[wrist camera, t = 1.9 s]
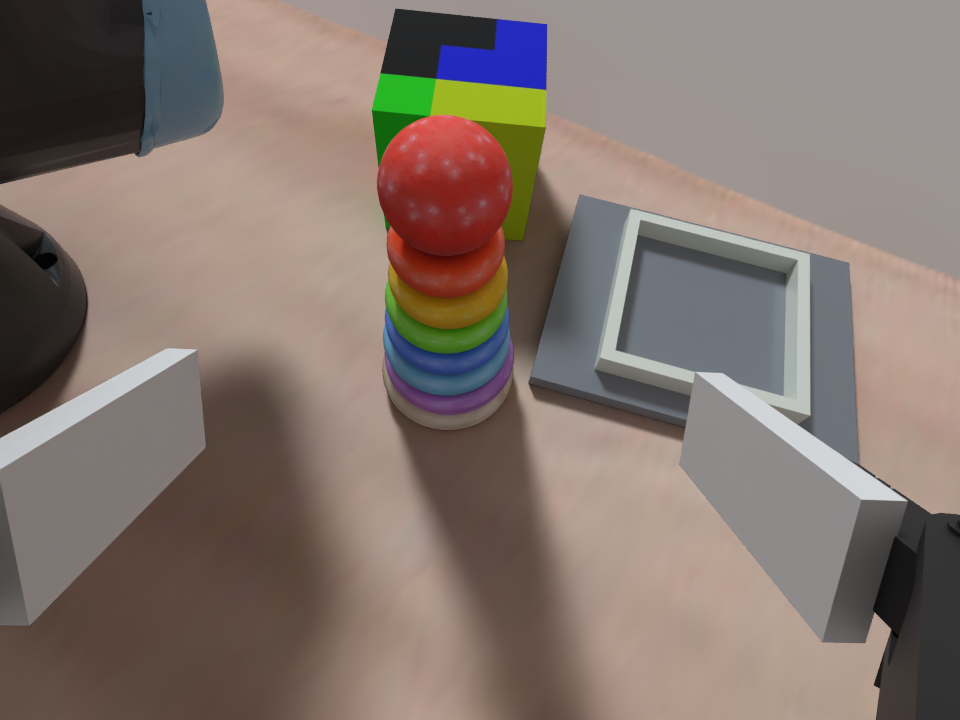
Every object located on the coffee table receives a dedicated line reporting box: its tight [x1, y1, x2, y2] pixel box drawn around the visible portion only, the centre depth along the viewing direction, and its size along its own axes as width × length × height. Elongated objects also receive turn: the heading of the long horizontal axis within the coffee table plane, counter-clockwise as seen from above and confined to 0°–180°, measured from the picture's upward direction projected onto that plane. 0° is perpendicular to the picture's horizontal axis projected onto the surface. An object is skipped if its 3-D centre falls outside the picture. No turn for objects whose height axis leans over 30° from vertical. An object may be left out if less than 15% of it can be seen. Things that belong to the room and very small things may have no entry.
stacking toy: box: [377, 115, 514, 430], centre depth 28 cm, size 8×8×19 cm
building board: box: [529, 195, 859, 464], centre depth 38 cm, size 20×16×2 cm
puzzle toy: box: [372, 9, 547, 241], centre depth 39 cm, size 10×10×10 cm
